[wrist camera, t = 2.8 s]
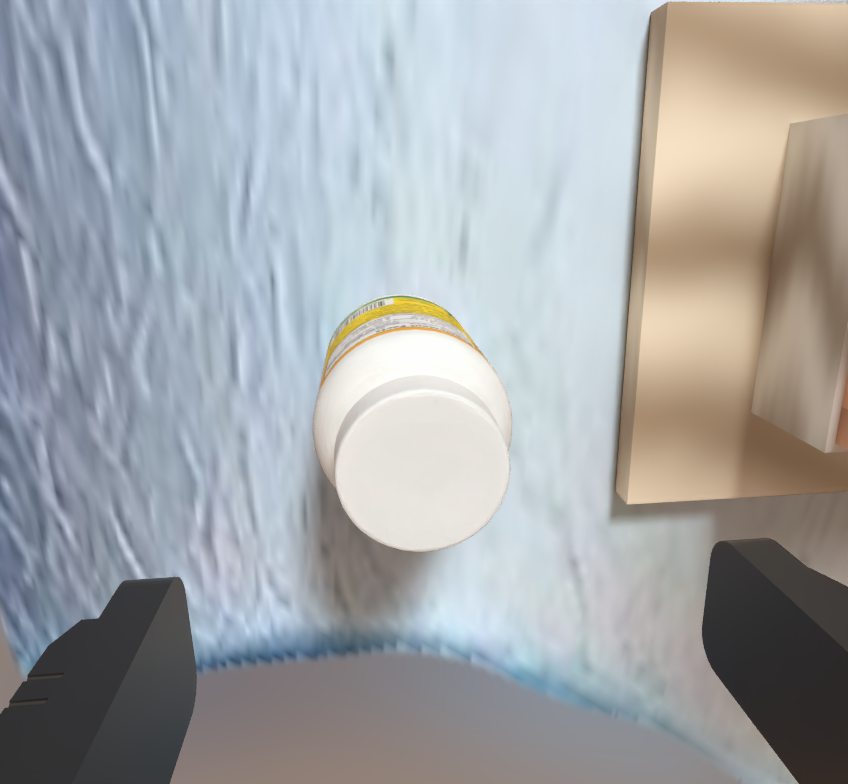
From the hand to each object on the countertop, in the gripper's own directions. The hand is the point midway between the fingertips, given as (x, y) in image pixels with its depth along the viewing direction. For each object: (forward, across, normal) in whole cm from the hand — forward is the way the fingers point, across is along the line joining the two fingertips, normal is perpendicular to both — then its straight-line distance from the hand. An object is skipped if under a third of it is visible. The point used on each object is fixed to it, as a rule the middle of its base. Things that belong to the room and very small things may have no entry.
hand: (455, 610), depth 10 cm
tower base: (+14, -18, -3) cm, 23 cm away
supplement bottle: (+15, 0, 0) cm, 15 cm away
